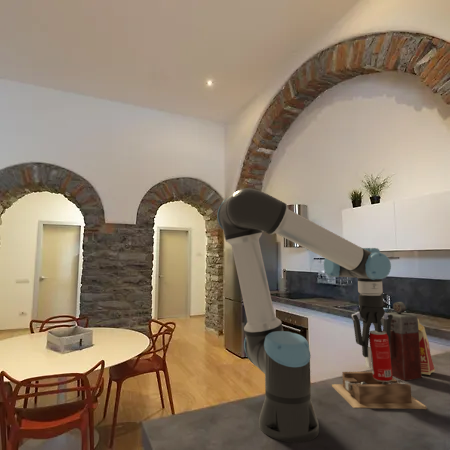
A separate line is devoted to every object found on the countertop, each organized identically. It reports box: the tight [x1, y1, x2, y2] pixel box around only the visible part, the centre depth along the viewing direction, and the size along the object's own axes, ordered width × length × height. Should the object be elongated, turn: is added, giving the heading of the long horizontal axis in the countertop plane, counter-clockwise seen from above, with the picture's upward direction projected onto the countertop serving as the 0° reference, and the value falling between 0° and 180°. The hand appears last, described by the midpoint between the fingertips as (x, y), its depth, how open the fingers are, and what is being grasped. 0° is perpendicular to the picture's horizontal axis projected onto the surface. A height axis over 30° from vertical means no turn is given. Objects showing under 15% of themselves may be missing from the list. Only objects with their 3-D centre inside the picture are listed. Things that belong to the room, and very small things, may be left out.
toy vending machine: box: [382, 301, 422, 382], centre depth 128 cm, size 9×11×28 cm
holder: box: [331, 371, 428, 410], centre depth 106 cm, size 22×18×6 cm
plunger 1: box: [345, 381, 367, 391], centre depth 106 cm, size 7×2×2 cm, turn 92°
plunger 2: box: [382, 379, 406, 384], centre depth 106 cm, size 7×2×2 cm, turn 92°
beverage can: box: [369, 329, 394, 382], centre depth 106 cm, size 6×6×15 cm
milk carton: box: [418, 318, 436, 376], centre depth 133 cm, size 9×9×20 cm
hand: (374, 367), depth 106 cm, fingers closed on beverage can, 3 cm apart
